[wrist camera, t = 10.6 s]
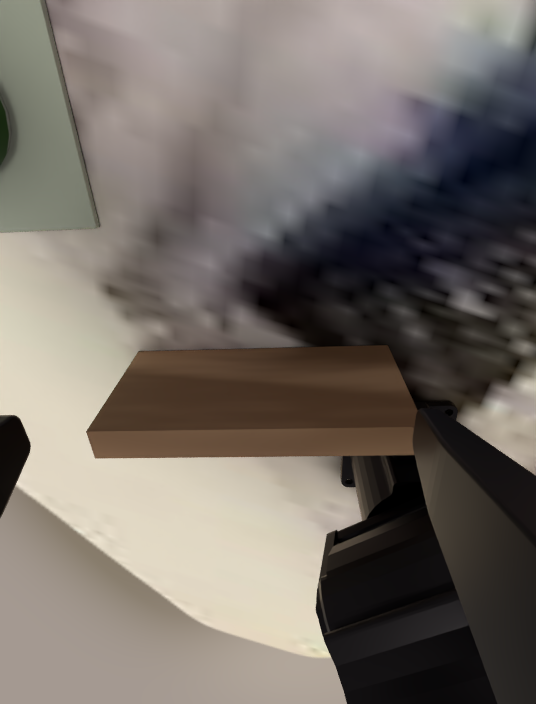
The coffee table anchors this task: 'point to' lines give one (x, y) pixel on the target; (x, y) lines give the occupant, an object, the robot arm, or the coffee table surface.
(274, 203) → the coffee table surface
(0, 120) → the beer can
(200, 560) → the coffee table surface
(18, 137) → the mat
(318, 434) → the stand
